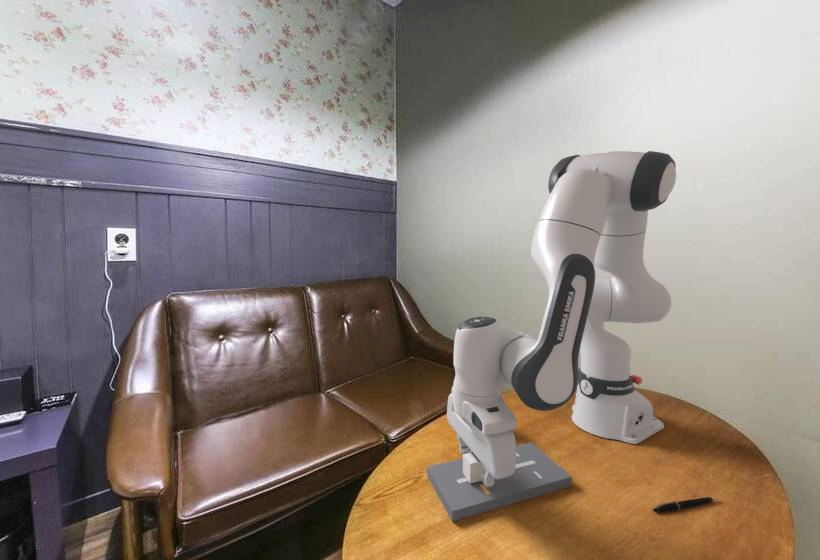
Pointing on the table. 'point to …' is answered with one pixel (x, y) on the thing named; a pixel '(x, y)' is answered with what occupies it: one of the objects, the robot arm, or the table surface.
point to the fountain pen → (681, 504)
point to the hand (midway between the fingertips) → (475, 468)
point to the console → (497, 483)
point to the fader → (472, 468)
